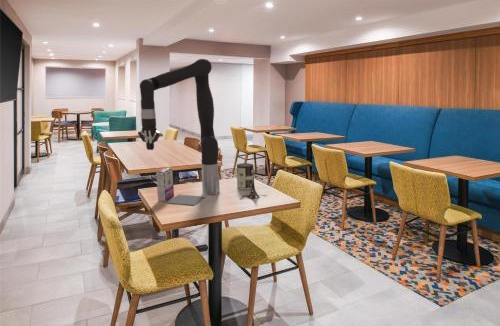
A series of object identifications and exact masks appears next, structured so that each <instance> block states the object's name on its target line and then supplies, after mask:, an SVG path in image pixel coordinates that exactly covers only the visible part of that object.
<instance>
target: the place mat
mask: <svg viewBox="0 0 500 326" xmlns="http://www.w3.org/2000/svg"><path fill="white" fill-rule="evenodd" d="M206 198H207V196H201V195H190V194H177V195H174V196H173V197H172V198H170V199H169V200H167V201H164V204H170V205H171V204H172V205H181V206H182V205H183V206H193V207H194V206H196V205H197V204H199V203H200V202H202V201H203V200H205V199H206Z"/></svg>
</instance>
